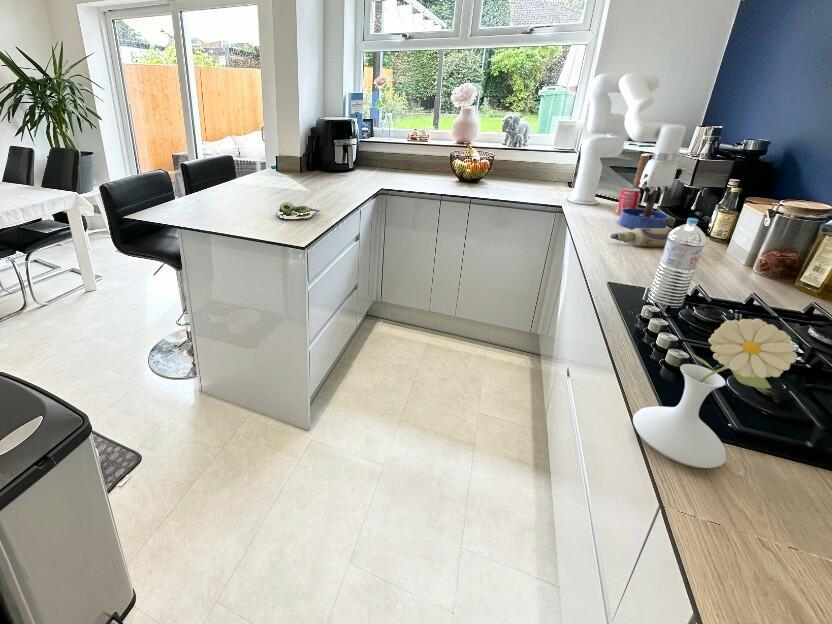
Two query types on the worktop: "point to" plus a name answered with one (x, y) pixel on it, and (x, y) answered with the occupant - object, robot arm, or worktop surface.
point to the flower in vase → (750, 363)
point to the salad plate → (289, 208)
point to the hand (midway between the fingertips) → (650, 202)
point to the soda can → (628, 199)
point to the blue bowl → (642, 219)
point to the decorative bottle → (644, 237)
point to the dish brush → (650, 206)
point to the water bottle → (677, 265)
